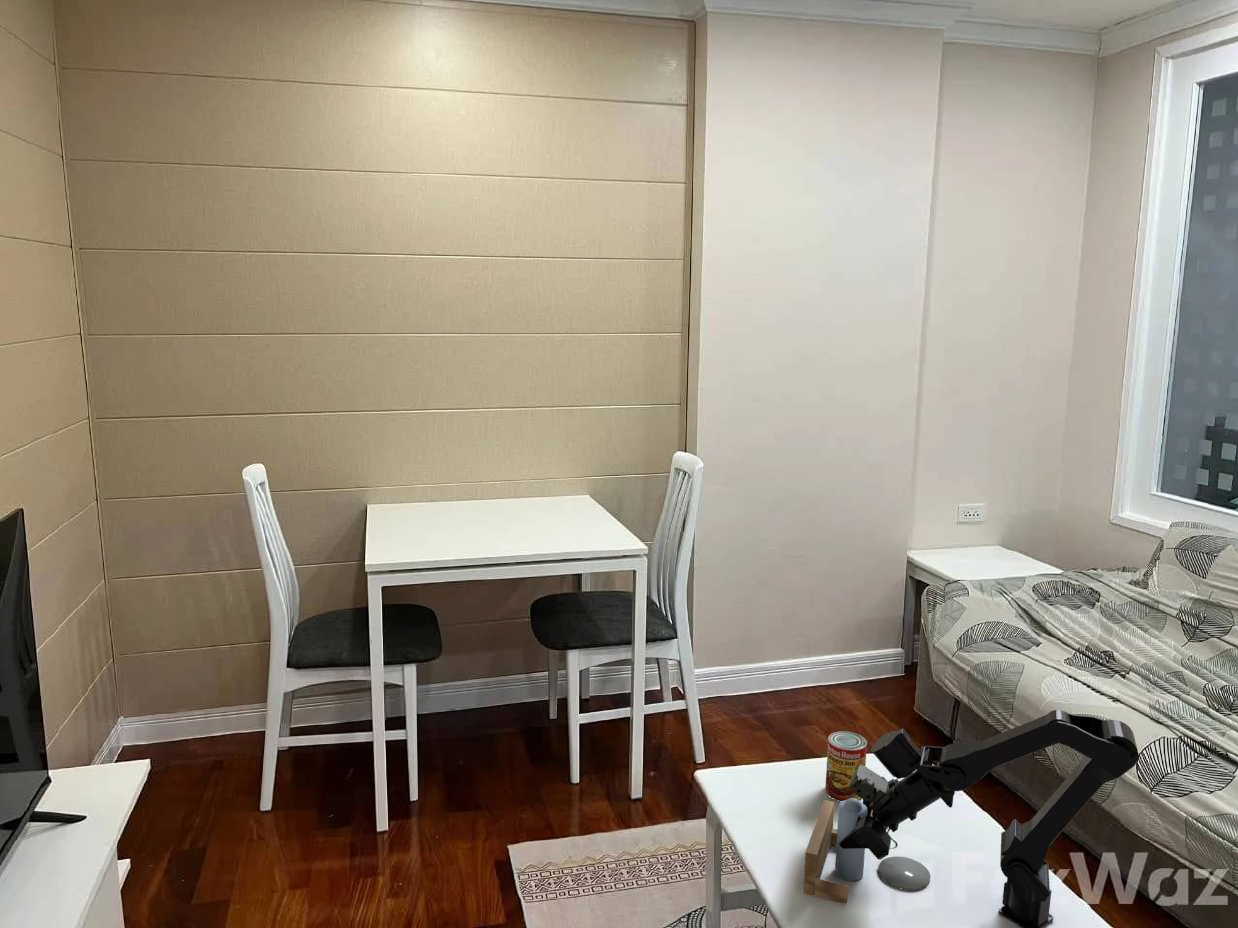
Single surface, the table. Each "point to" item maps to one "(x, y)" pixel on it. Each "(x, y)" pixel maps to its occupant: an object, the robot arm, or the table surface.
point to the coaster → (904, 873)
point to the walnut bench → (822, 858)
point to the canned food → (843, 763)
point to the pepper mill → (846, 859)
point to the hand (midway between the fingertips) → (843, 837)
